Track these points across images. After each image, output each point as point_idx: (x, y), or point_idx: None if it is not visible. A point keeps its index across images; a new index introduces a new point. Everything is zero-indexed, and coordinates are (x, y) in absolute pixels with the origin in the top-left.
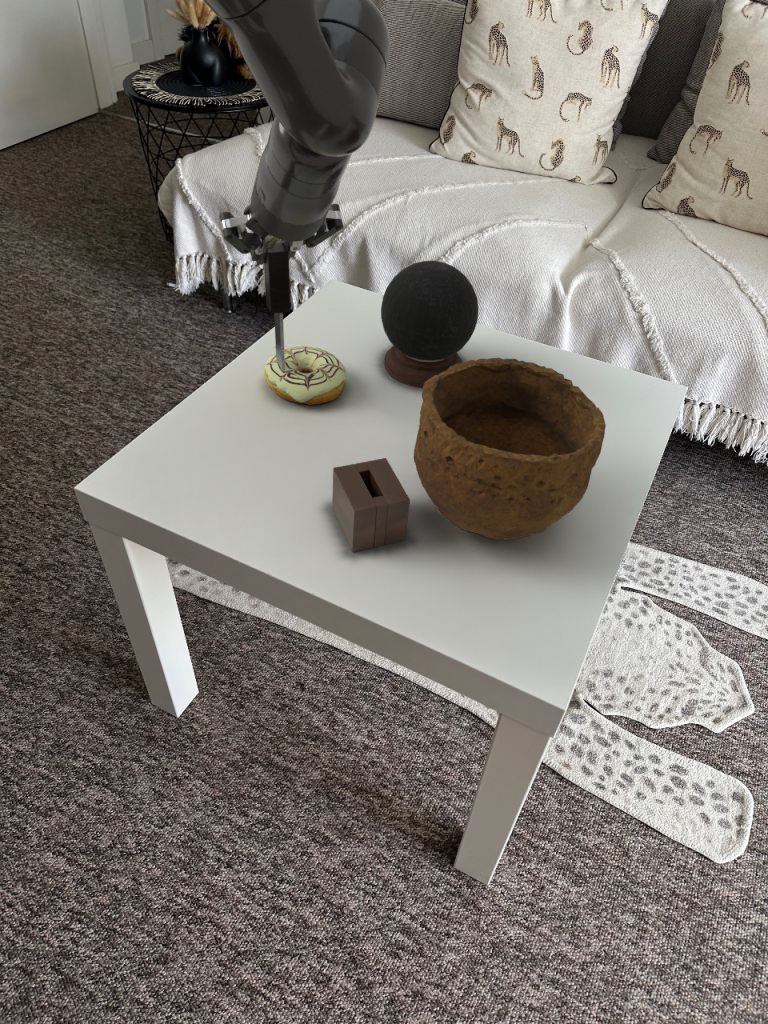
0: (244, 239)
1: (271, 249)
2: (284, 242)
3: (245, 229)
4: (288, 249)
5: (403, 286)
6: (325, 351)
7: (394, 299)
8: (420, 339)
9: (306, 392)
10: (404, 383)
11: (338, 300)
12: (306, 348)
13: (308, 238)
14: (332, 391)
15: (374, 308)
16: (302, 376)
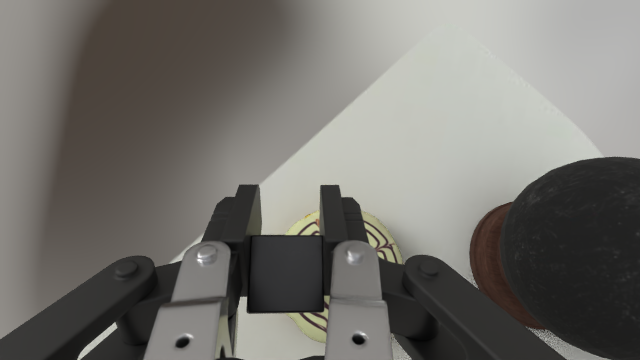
0: (129, 327)
1: (266, 286)
2: (323, 253)
3: (131, 299)
4: (329, 289)
5: (605, 264)
6: (384, 236)
7: (562, 267)
8: (570, 343)
9: (324, 339)
10: None
11: (441, 58)
12: None
13: (410, 333)
14: None
15: (490, 90)
16: (326, 311)
